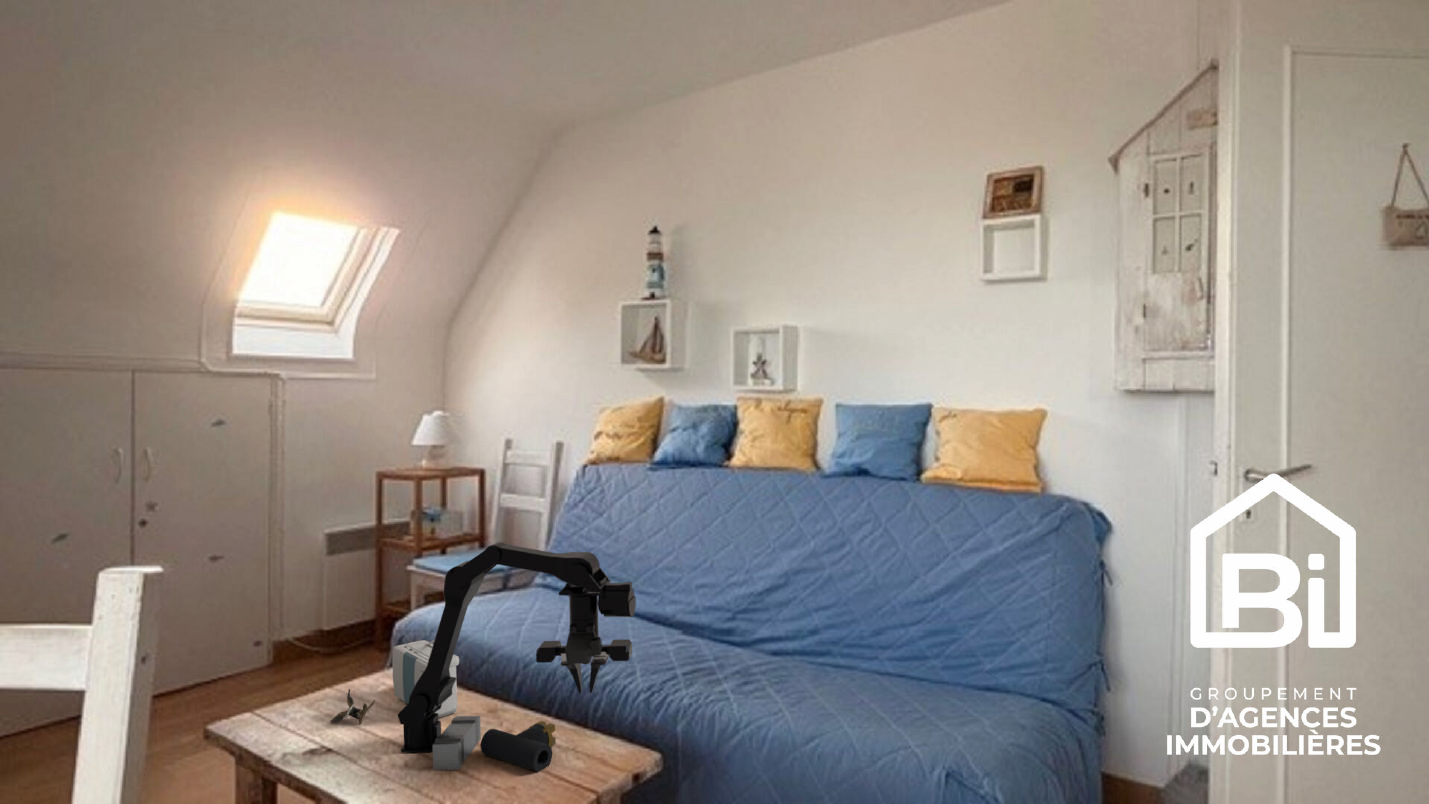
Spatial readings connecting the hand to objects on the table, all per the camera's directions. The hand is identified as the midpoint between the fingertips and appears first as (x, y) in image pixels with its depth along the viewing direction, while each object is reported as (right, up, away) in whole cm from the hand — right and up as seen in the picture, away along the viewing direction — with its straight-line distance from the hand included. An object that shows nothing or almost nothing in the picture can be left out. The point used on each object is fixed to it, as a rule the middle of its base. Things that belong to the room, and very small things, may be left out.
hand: (585, 692), depth 163 cm
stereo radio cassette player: (-42, -13, +27) cm, 51 cm away
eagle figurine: (-57, -14, +19) cm, 61 cm away
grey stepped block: (-26, -13, 0) cm, 29 cm away
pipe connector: (-12, -13, 0) cm, 17 cm away
